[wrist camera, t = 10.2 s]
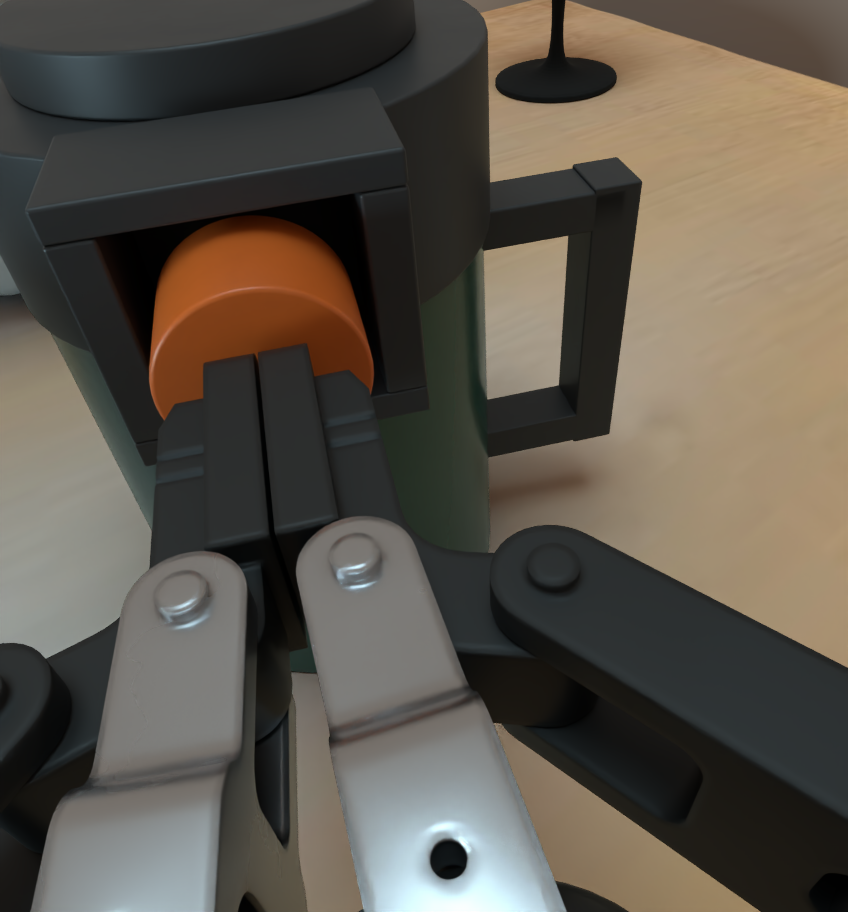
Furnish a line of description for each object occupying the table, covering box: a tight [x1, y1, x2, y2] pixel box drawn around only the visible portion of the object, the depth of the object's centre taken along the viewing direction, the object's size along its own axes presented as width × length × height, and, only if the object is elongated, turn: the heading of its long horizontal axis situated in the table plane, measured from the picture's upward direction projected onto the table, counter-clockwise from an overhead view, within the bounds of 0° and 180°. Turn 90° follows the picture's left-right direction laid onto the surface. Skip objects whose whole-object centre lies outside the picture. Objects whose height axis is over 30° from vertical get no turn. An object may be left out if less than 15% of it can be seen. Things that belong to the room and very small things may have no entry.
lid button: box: [149, 215, 374, 420], centre depth 12 cm, size 2×3×3 cm
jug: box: [0, 0, 642, 673], centre depth 22 cm, size 15×19×19 cm
